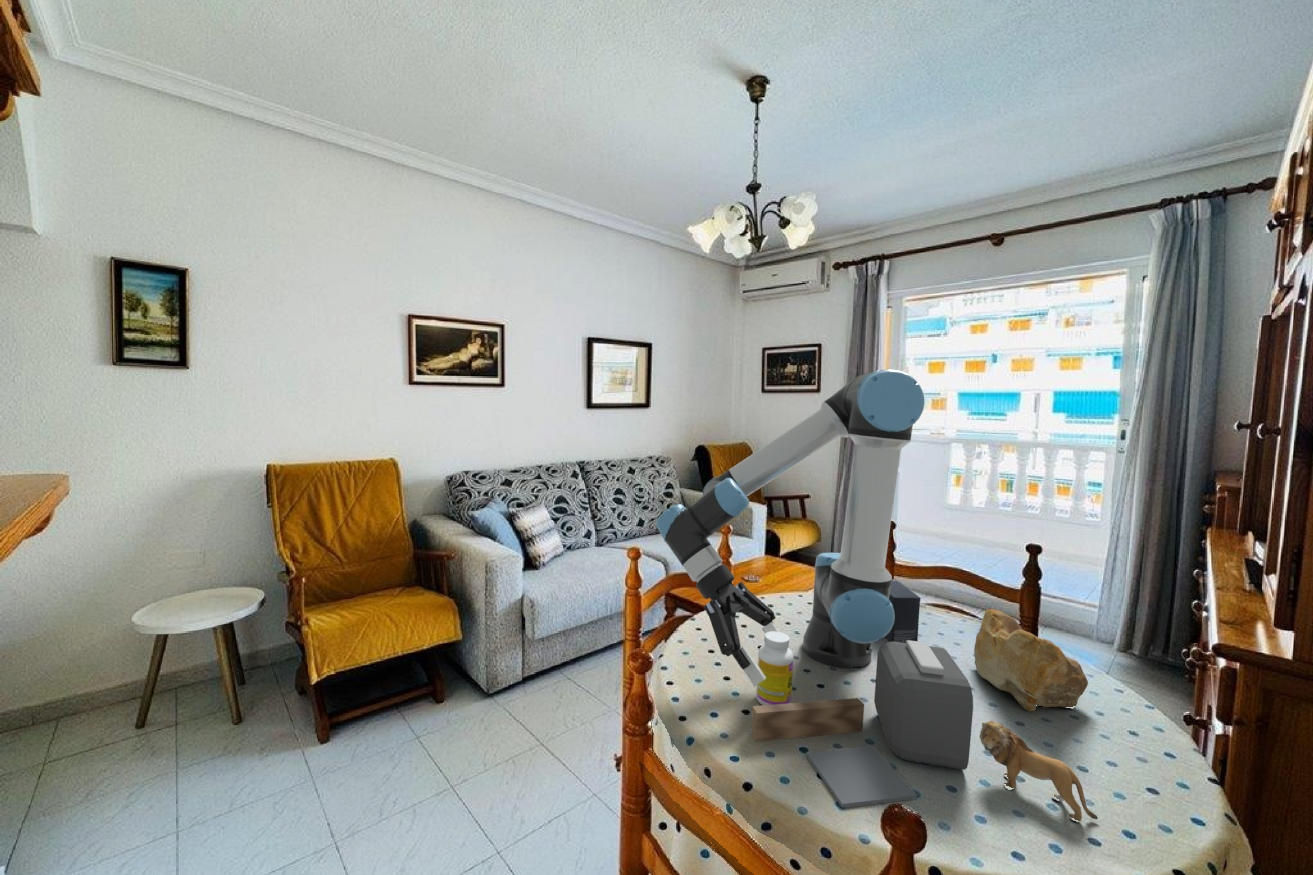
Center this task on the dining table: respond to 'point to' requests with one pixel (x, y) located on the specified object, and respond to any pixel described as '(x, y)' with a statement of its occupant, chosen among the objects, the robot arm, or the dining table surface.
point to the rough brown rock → (1026, 664)
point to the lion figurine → (1031, 765)
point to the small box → (904, 613)
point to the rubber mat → (859, 776)
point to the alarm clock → (924, 704)
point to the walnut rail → (807, 719)
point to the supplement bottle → (775, 670)
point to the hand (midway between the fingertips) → (774, 667)
